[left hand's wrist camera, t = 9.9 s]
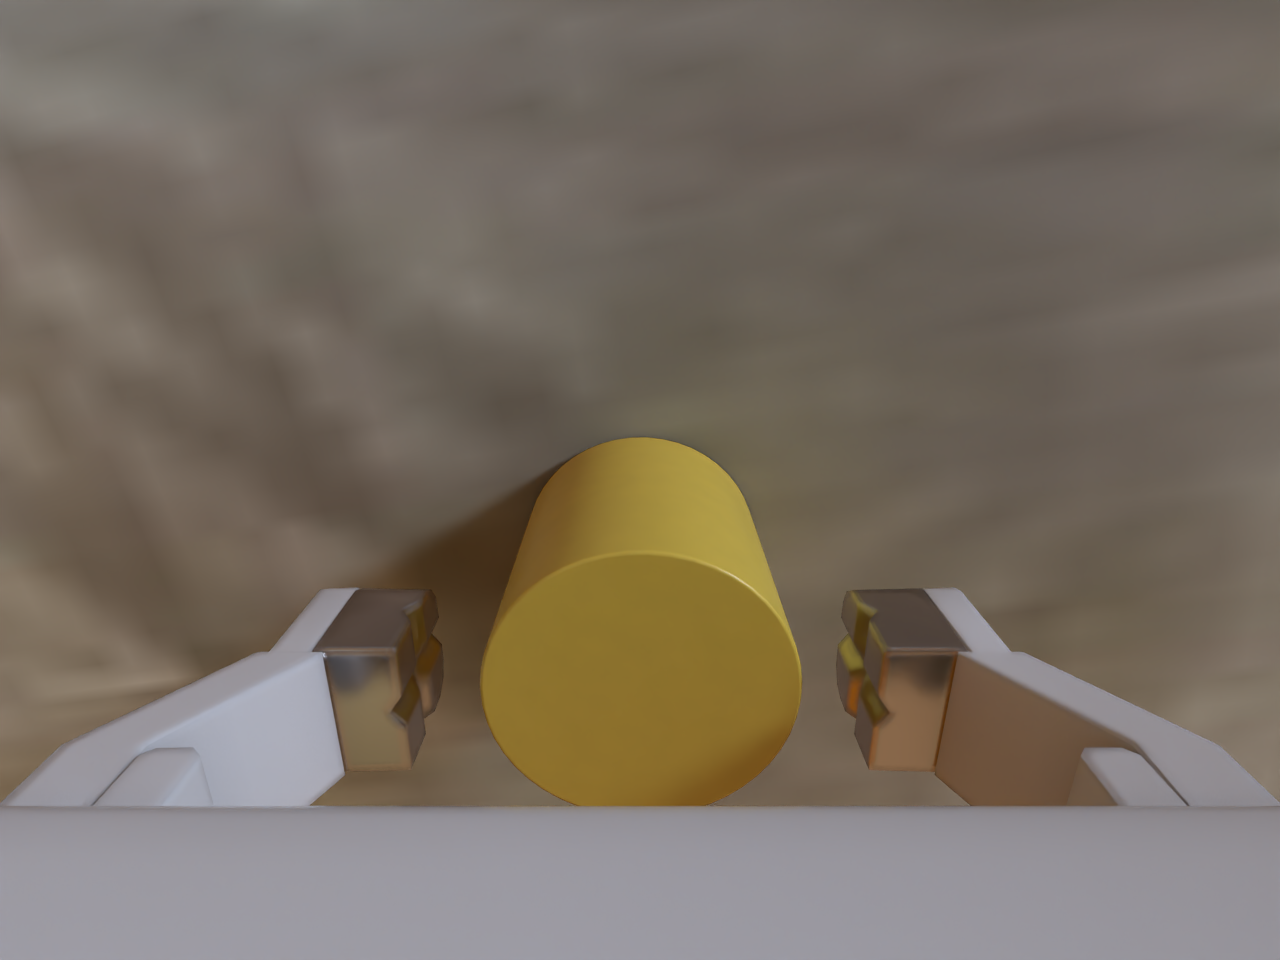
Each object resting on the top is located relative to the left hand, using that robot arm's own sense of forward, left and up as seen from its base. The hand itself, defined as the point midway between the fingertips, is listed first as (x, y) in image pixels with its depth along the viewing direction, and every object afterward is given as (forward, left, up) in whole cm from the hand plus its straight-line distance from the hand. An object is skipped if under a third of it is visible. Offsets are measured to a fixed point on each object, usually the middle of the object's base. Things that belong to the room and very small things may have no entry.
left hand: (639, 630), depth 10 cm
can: (0, 0, -3) cm, 3 cm away
